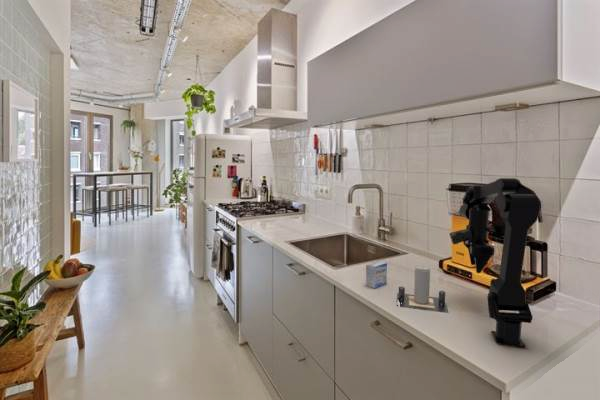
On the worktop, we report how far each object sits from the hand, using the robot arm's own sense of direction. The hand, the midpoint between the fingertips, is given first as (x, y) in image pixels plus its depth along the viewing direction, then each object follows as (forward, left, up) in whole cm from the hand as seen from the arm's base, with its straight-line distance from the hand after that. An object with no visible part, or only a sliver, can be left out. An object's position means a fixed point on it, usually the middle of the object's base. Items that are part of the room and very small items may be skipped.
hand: (475, 268), depth 111 cm
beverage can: (-5, +17, -12) cm, 21 cm away
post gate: (-5, +17, -13) cm, 22 cm away
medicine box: (+7, +33, -12) cm, 36 cm away
